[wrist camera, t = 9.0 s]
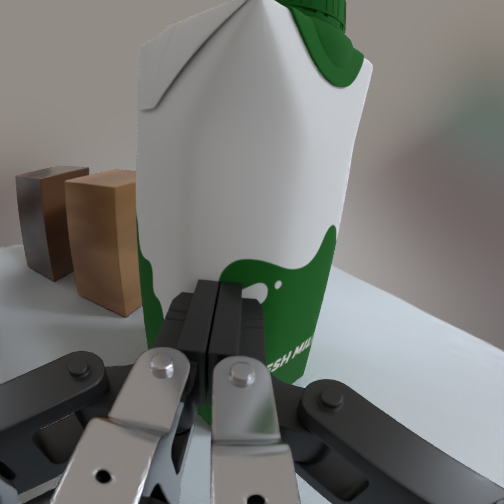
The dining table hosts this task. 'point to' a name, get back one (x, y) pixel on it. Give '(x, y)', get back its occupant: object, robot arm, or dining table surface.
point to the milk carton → (247, 161)
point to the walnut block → (46, 219)
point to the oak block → (105, 238)
